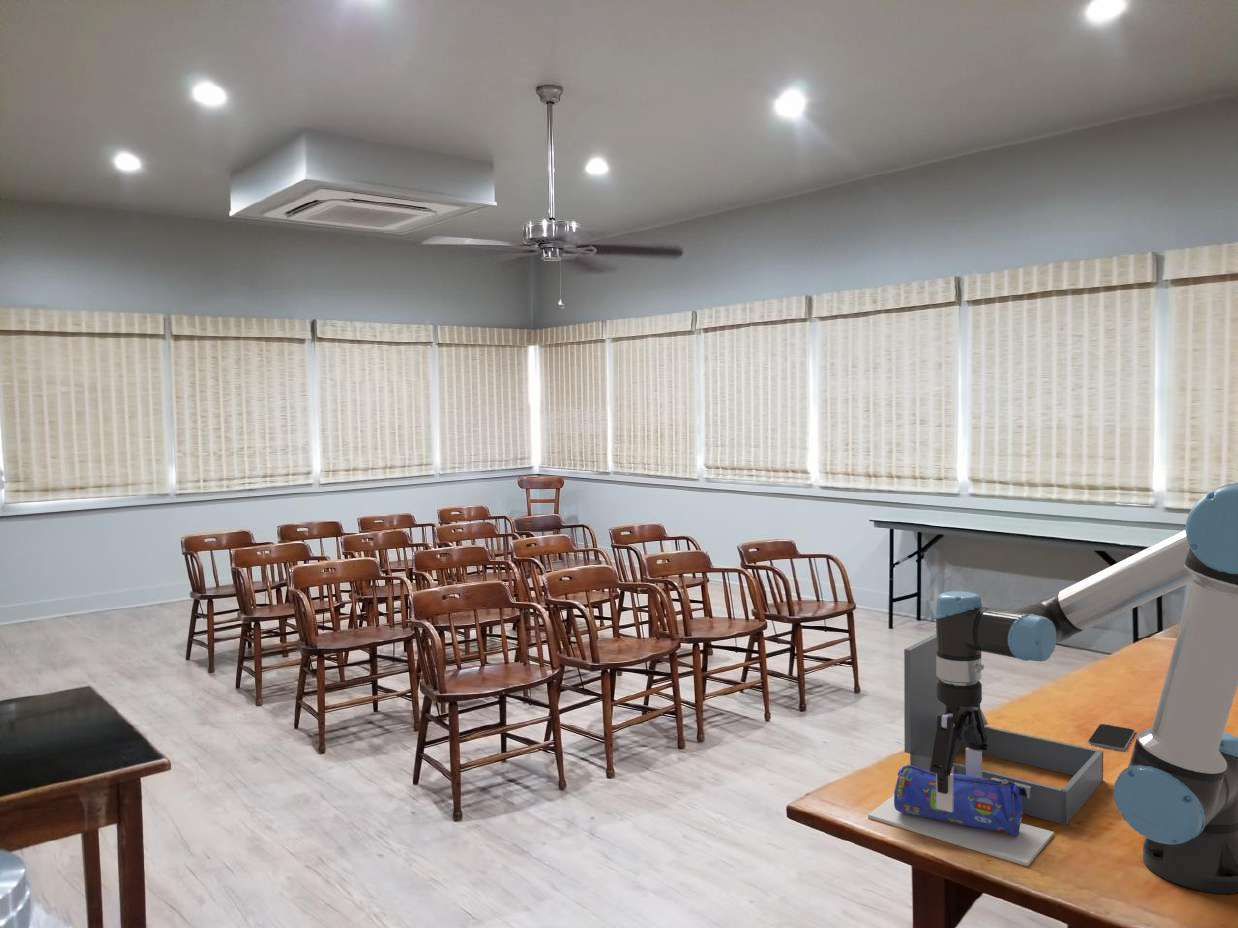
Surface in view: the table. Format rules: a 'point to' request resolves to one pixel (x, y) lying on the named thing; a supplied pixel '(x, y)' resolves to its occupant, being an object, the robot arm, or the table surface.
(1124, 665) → the table surface
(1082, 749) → the case
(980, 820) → the pencil case
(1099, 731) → the smartphone
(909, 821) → the grey mat
